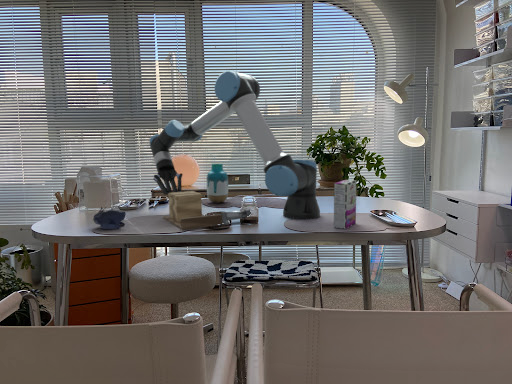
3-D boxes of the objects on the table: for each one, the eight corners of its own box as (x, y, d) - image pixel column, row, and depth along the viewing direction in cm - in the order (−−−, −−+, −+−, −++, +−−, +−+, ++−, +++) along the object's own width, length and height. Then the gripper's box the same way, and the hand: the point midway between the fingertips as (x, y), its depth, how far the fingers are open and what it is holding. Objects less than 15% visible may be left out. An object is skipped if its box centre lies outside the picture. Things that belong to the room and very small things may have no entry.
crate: (168, 217, 161) (167, 192, 160) (193, 214, 166) (192, 190, 165) (177, 222, 152) (176, 196, 151) (202, 219, 157) (201, 193, 156)
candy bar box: (343, 222, 153) (344, 179, 151) (356, 223, 151) (357, 180, 148) (332, 227, 144) (333, 182, 142) (345, 229, 141) (347, 183, 139)
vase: (232, 201, 201) (231, 163, 199) (221, 204, 192) (221, 165, 189) (214, 200, 206) (213, 162, 203) (203, 203, 196) (202, 164, 193)
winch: (223, 226, 148) (223, 212, 147) (216, 223, 153) (216, 210, 152) (257, 221, 155) (257, 209, 154) (250, 219, 160) (250, 206, 159)
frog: (100, 224, 152) (98, 204, 151) (131, 224, 152) (130, 204, 150) (88, 230, 142) (86, 209, 141) (121, 230, 142) (119, 209, 141)
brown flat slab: (163, 219, 160) (163, 208, 159) (198, 215, 167) (198, 205, 166) (182, 231, 140) (181, 219, 139) (221, 226, 147) (221, 214, 146)
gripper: (176, 168, 185) (190, 210, 173) (148, 169, 179) (160, 213, 167) (180, 157, 179) (193, 199, 167) (151, 158, 173) (163, 202, 161)
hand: (177, 206), depth 167 cm, fingers closed
